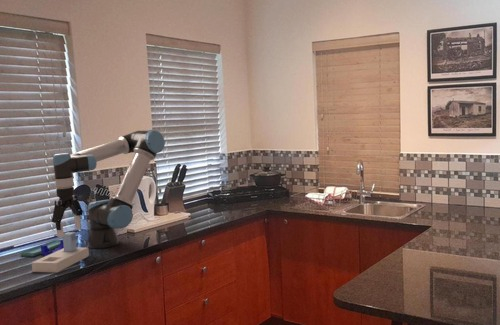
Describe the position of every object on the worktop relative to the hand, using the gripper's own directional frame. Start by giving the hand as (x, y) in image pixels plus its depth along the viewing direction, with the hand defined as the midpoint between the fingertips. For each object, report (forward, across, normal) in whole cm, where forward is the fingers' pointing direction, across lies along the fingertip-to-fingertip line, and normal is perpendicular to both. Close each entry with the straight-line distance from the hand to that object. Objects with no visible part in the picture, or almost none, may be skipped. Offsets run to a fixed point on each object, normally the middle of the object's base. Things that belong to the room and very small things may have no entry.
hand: (69, 233), depth 224 cm
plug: (+12, 0, 0) cm, 12 cm away
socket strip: (+13, +8, 0) cm, 15 cm away
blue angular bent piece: (+13, -9, -16) cm, 23 cm away
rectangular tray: (+14, -17, -27) cm, 35 cm away
